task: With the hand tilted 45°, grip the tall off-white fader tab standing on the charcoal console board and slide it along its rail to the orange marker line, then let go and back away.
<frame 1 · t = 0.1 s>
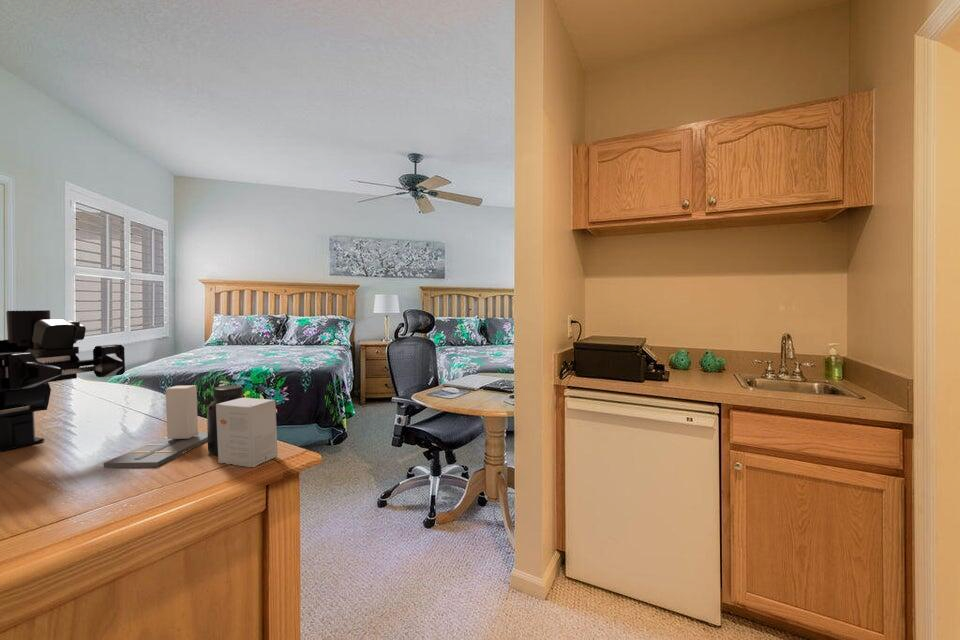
hand: (93, 367, 74), 17 cm above the table, tool horizontal, fingers open, 9 cm apart
supplement bottle: (229, 450, 79), on the table
console board: (168, 449, 80), on the table
fader tab: (182, 411, 84), point 6 cm above the table, slide at -4.0 cm
small box: (248, 461, 74), on the table
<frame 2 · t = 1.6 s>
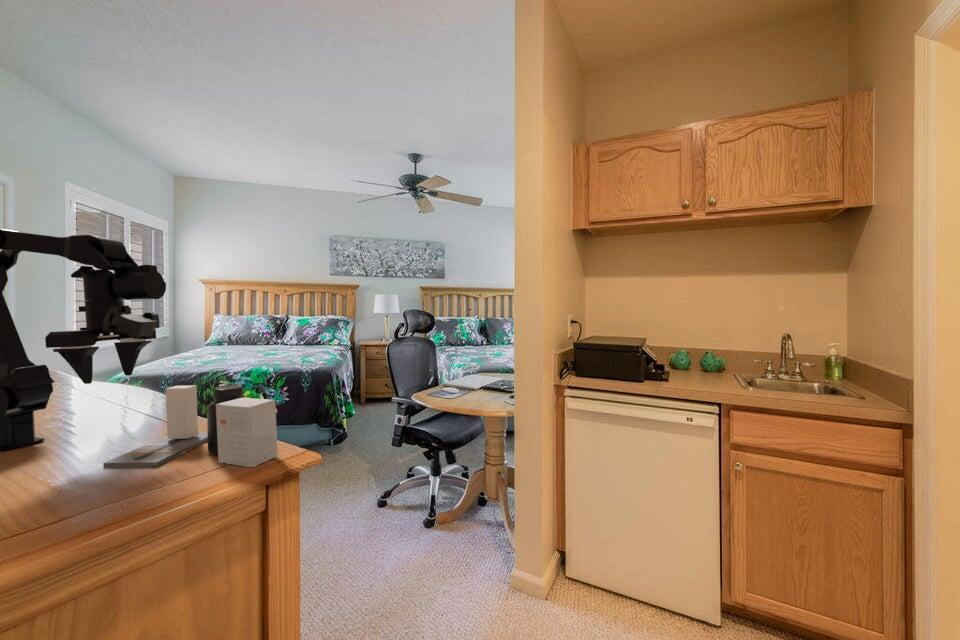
hand: (109, 379, 83), 13 cm above the table, tool pointing down, fingers open, 9 cm apart
nothing on the table moved.
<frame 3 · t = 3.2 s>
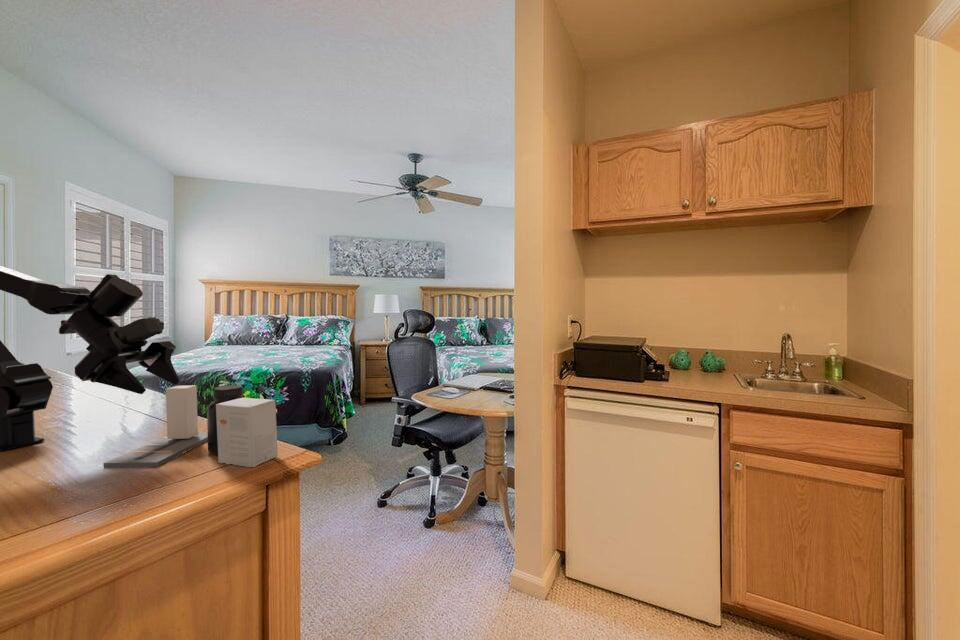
hand: (161, 387, 83), 11 cm above the table, tool tilted 45°, fingers open, 9 cm apart
nothing on the table moved.
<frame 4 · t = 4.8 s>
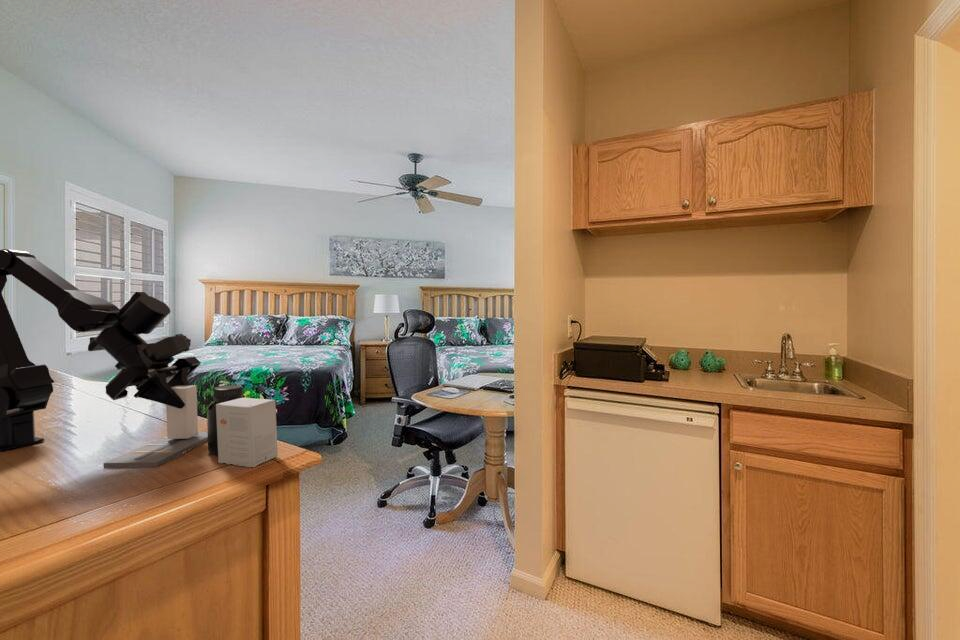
hand: (188, 404, 84), 8 cm above the table, tool tilted 45°, fingers closed on fader tab, 3 cm apart
fader tab: (182, 411, 84), point 6 cm above the table, slide at -4.0 cm, touching gripper
everything else where it was.
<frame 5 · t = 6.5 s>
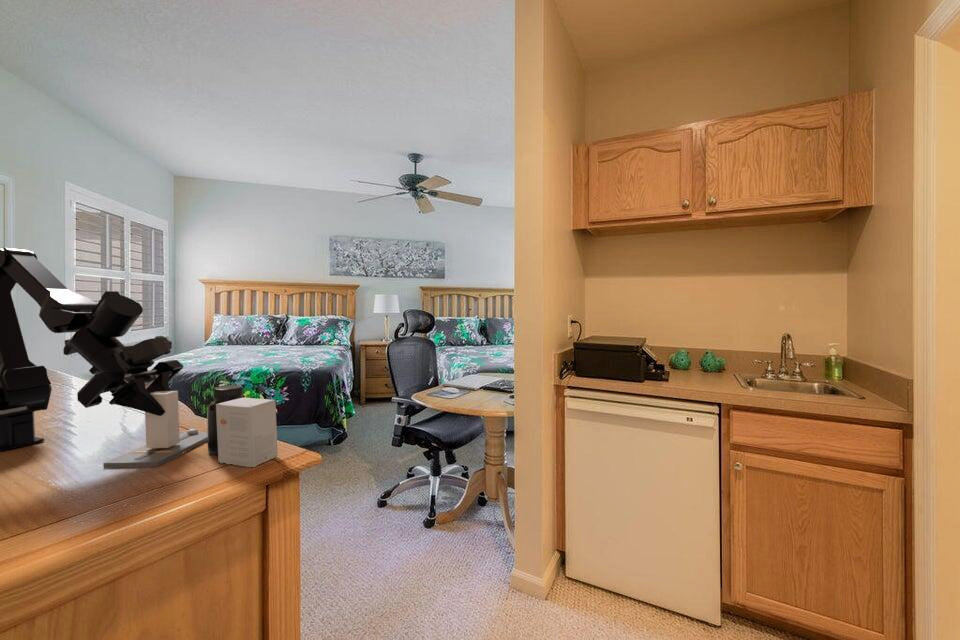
hand: (169, 411, 78), 8 cm above the table, tool tilted 45°, fingers closed on fader tab, 3 cm apart
fader tab: (162, 418, 78), point 6 cm above the table, slide at 1.4 cm, touching gripper
everything else where it was.
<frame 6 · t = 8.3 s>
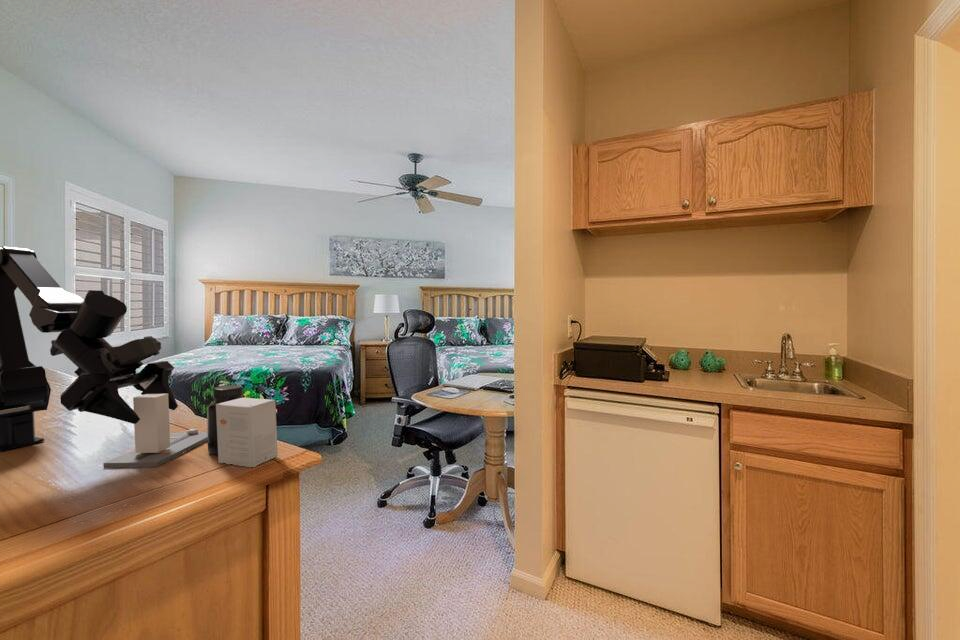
hand: (157, 414, 76), 8 cm above the table, tool tilted 45°, fingers open, 9 cm apart
fader tab: (152, 422, 76), point 6 cm above the table, slide at 3.9 cm
everything else where it was.
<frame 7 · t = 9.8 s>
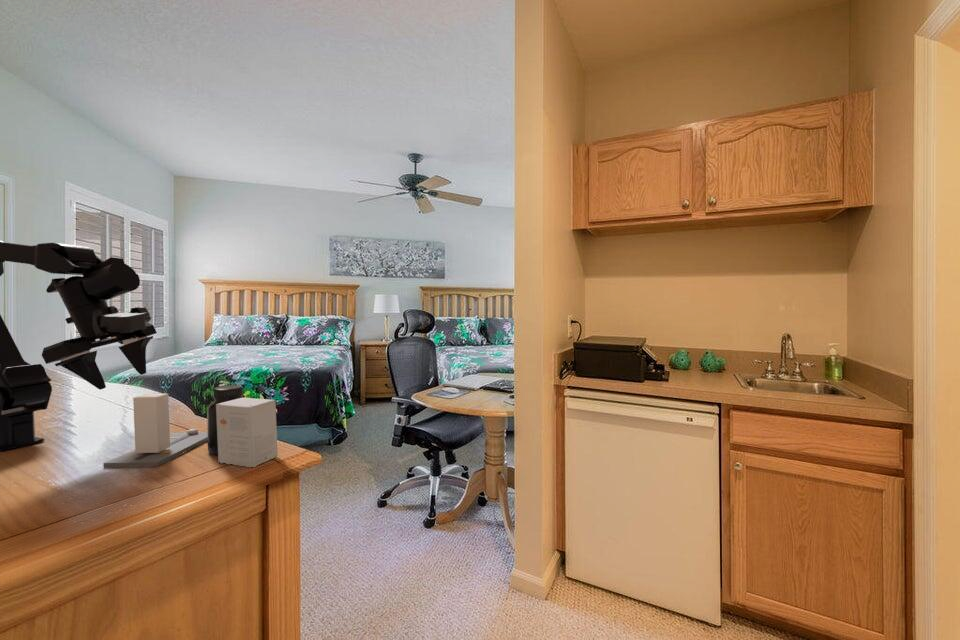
hand: (124, 381, 83), 13 cm above the table, tool tilted 20°, fingers open, 9 cm apart
nothing on the table moved.
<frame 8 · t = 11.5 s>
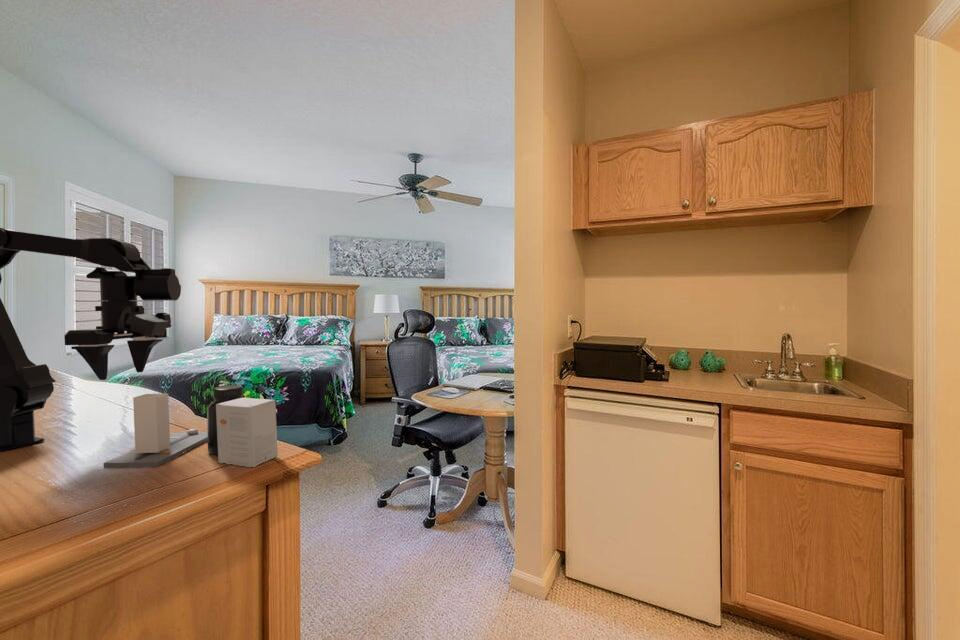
hand: (122, 375, 87), 13 cm above the table, tool pointing down, fingers open, 9 cm apart
nothing on the table moved.
at the end: fader tab slide at 3.9 cm; the gripper is holding nothing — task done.
